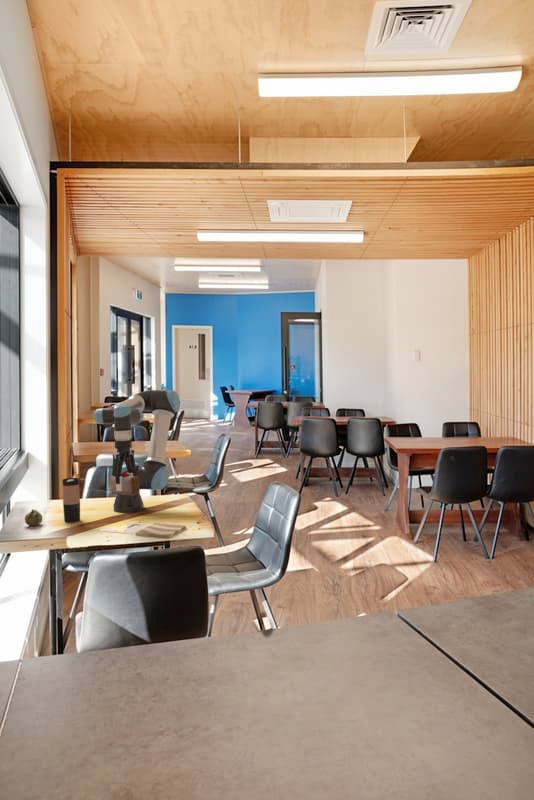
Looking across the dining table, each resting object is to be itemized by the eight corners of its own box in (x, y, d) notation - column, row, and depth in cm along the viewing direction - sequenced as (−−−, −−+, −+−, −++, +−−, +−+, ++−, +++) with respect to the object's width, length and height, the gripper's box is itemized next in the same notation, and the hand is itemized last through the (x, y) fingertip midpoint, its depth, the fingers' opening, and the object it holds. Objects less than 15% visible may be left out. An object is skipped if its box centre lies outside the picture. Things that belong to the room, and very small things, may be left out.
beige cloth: (155, 525, 272) (154, 523, 272) (186, 528, 267) (185, 525, 267) (135, 535, 258) (135, 532, 257) (168, 538, 252) (168, 535, 252)
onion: (46, 523, 279) (46, 507, 278) (33, 528, 272) (33, 511, 271) (34, 522, 282) (34, 505, 281) (21, 526, 275) (20, 509, 274)
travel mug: (76, 517, 289) (74, 477, 288) (83, 520, 284) (82, 479, 282) (61, 520, 284) (59, 479, 283) (68, 523, 278) (66, 481, 277)
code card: (119, 521, 280) (119, 521, 280) (152, 524, 274) (152, 524, 274) (98, 530, 265) (98, 530, 265) (133, 534, 259) (133, 533, 259)
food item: (107, 494, 272) (106, 473, 271) (118, 490, 279) (117, 470, 278) (131, 496, 266) (131, 474, 265) (142, 493, 273) (141, 471, 273)
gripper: (116, 442, 260) (118, 494, 261) (142, 436, 279) (144, 484, 281) (102, 442, 262) (104, 493, 264) (129, 436, 282) (130, 483, 283)
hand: (124, 488), depth 272 cm, fingers closed on food item, 8 cm apart
